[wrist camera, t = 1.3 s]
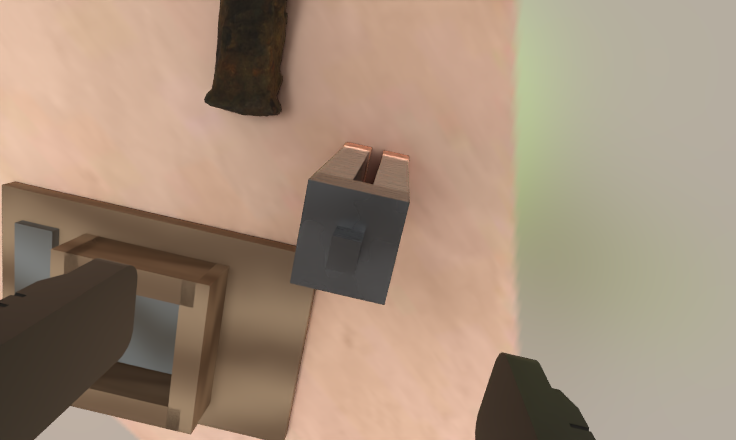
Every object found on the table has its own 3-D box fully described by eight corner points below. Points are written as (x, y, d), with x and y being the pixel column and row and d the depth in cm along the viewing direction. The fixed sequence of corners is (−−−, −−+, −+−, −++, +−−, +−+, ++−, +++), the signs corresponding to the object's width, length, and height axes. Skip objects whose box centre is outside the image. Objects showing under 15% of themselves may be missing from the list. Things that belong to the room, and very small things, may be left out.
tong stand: (14, 181, 30) (-44, 195, 26) (322, 252, 29) (310, 276, 26) (14, 369, 34) (-36, 405, 30) (286, 433, 33) (271, 478, 29)
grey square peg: (347, 141, 27) (299, 184, 15) (408, 155, 27) (411, 210, 15) (333, 208, 29) (279, 297, 16) (393, 221, 29) (383, 322, 16)
